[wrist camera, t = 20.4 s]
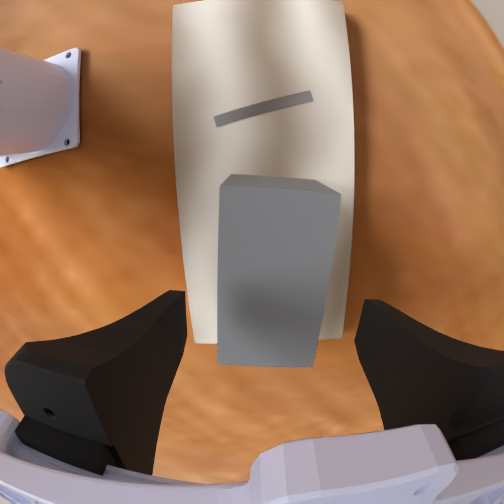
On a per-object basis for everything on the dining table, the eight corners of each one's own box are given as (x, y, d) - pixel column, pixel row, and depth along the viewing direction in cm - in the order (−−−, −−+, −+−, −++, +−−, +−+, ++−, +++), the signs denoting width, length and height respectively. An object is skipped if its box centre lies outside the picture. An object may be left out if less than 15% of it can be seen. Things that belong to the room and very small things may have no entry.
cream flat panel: (197, 334, 23) (194, 343, 22) (177, 12, 15) (172, 5, 14) (338, 329, 23) (341, 338, 21) (338, 9, 15) (343, 1, 14)
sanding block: (226, 307, 21) (217, 364, 15) (231, 173, 18) (219, 185, 12) (299, 311, 21) (312, 367, 15) (314, 179, 18) (341, 194, 12)
